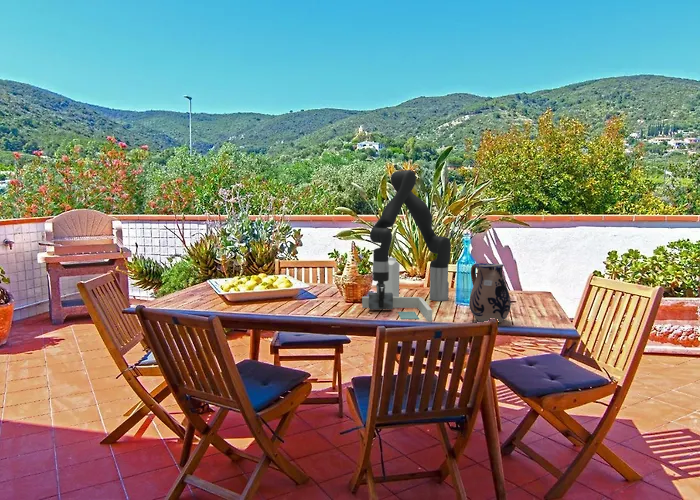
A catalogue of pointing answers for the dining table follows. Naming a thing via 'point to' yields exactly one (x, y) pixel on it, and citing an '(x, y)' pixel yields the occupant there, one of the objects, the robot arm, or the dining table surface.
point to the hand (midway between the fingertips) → (380, 305)
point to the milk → (393, 278)
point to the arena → (407, 305)
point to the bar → (375, 301)
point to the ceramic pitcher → (489, 293)
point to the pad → (408, 315)
